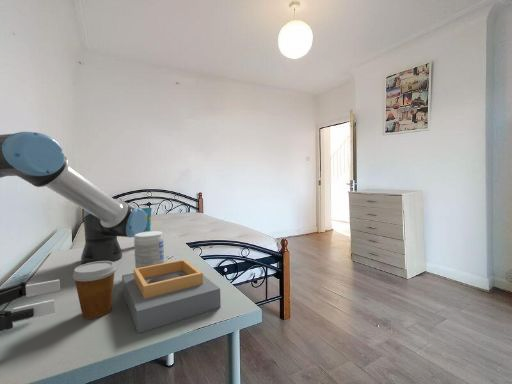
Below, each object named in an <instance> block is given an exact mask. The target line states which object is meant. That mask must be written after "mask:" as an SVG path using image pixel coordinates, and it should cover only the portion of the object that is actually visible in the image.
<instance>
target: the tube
mask: <svg viewBox="0 0 512 384" xmlns="http://www.w3.org/2000/svg"><path fill="white" fill-rule="evenodd" d="M138 208H139V209H142V210H144V211H145V213H146V216H147V224H146V227H145V230H144V231H143V232H150V231H151V224H152V223H151V222H152V210H153V208H152V207H138Z"/></svg>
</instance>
